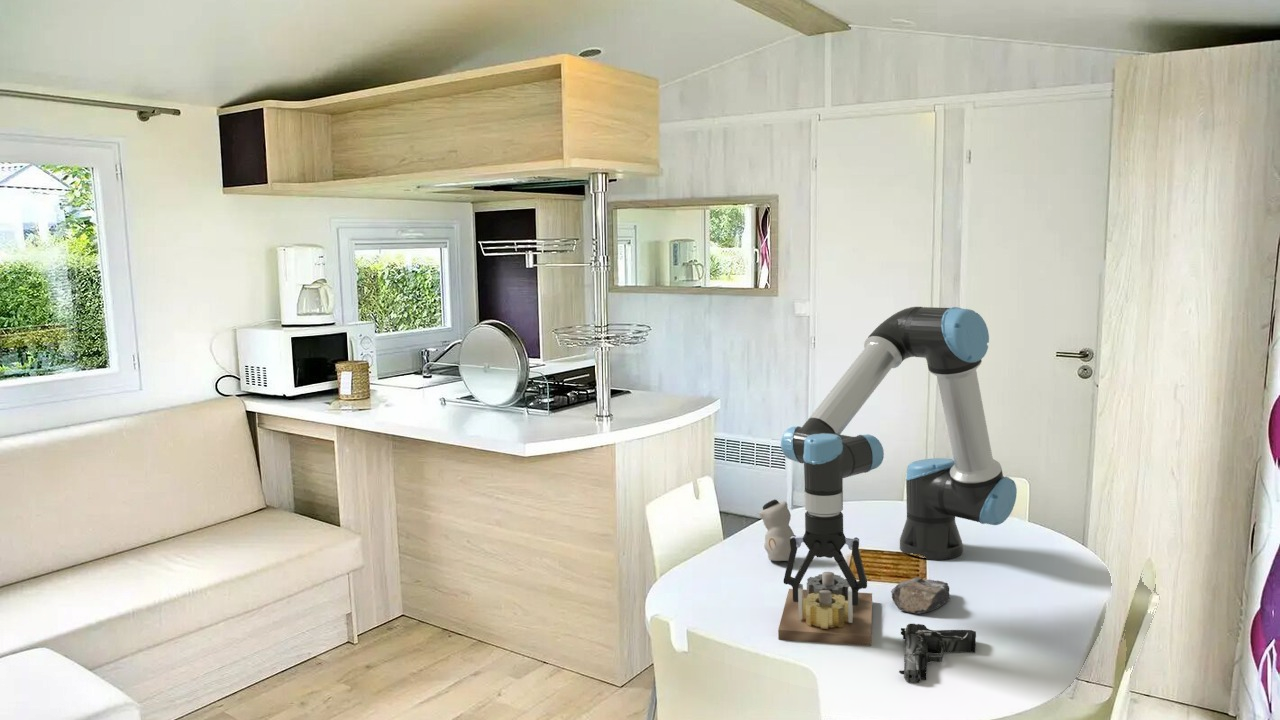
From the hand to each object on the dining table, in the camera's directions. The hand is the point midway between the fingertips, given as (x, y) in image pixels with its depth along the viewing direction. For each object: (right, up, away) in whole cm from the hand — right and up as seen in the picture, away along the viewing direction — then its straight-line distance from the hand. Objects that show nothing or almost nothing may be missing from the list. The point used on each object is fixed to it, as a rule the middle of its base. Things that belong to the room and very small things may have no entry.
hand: (825, 618), depth 184 cm
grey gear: (+3, +1, +10) cm, 11 cm away
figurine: (-3, +2, +41) cm, 42 cm away
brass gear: (0, 0, 0) cm, 0 cm away
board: (+1, -2, +5) cm, 6 cm away
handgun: (+18, -4, -15) cm, 24 cm away
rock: (+23, 0, +12) cm, 26 cm away
